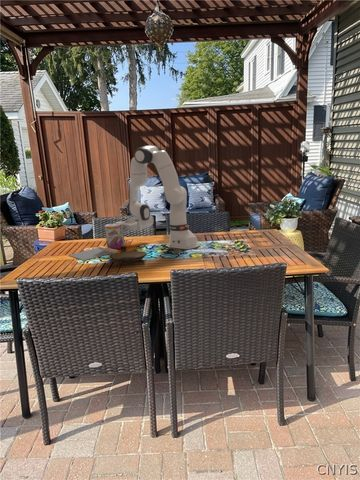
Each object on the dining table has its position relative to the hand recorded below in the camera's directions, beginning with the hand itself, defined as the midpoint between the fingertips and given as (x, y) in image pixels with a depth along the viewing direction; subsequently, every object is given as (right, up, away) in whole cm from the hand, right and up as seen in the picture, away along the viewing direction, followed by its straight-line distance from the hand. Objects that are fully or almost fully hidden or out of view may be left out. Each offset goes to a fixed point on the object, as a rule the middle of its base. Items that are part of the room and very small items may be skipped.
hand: (115, 227), depth 244 cm
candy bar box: (0, -14, +2) cm, 14 cm away
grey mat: (-13, -17, -9) cm, 24 cm away
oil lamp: (+13, -21, -30) cm, 39 cm away
